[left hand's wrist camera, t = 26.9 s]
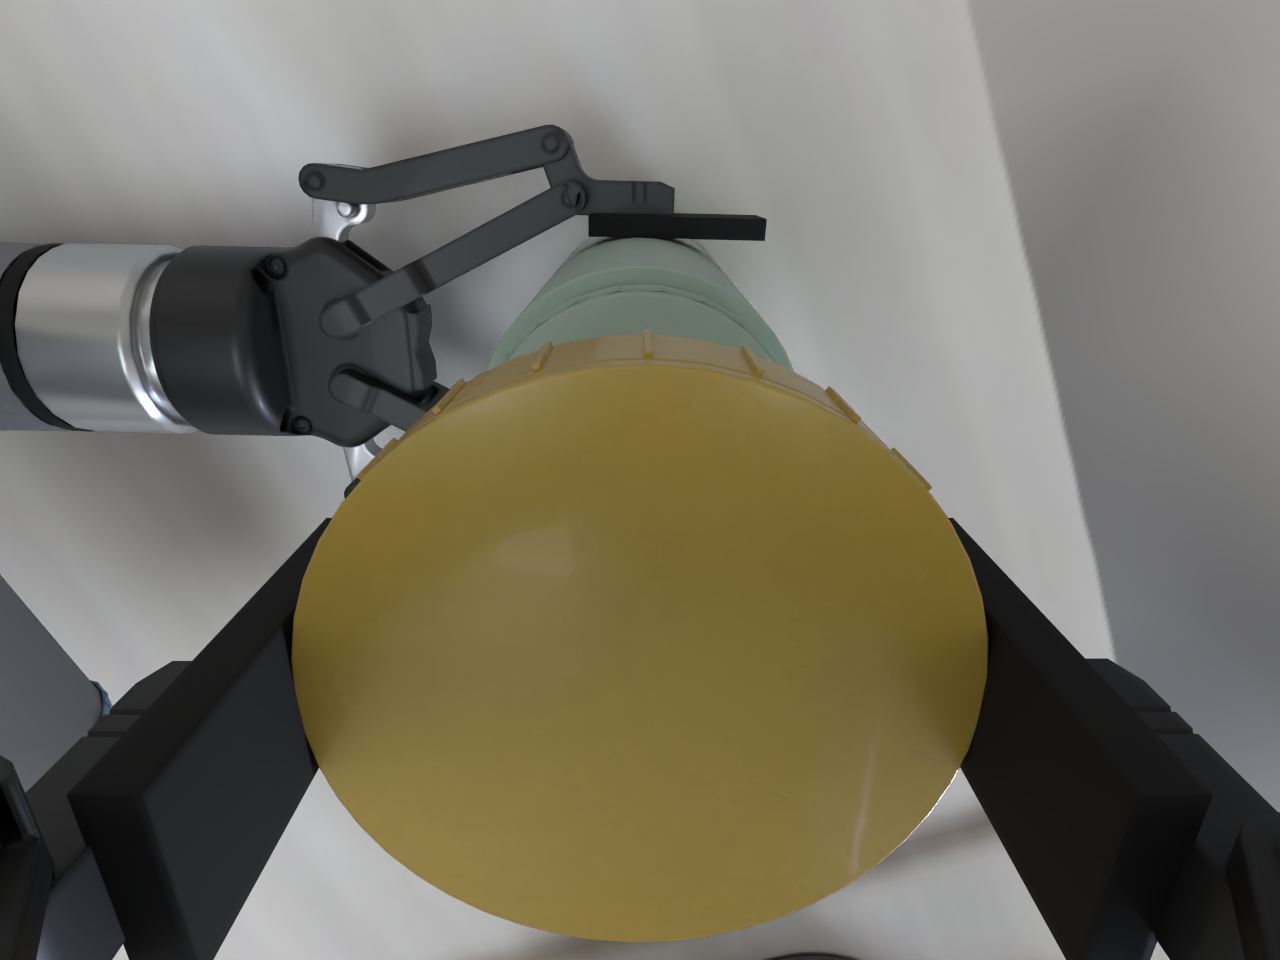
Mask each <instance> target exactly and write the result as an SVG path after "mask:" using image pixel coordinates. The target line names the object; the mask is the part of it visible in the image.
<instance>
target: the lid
mask: <svg viewBox="0 0 1280 960" xmlns="http://www.w3.org/2000/svg"><path fill="white" fill-rule="evenodd" d="M357 478H358V479H360V480H361V481H360V482H359V483H358V485H357V486H356V487H355V488H354V489H353V490H352V492H351V493H350V494H349V495H348V496H347V497H346V499H345V500H344V501H343V502H342V503H341V505H340V506H339V508H338V510H337V511H336V513H335V515H334V516H333V518H332V519H331V521H330V523H329V524H328V526H327V528H326V529H325V531H324V532H323V534H322V536H321V537H320V539H319V541H318V543H317V545H316V548H315V550H314V553H313V555H312V558H311V560H310V562H309V565H308V567H307V570H306V572H305V574H304V577H303V580H302V584H301V588H300V593H299V597H298V601H297V606H296V610H295V614H294V621H293V636H292V651H291V661H292V672H293V682H294V687H295V692H296V697H297V702H298V706H299V711H300V715H301V720H302V724H303V729H304V733H305V735H306V737H307V740H308V742H309V745H310V747H311V749H312V752H313V754H314V756H315V759H316V761H317V764H318V766H319V767H320V769H321V771H322V773H323V774H324V776H325V778H326V779H327V781H328V783H329V784H330V786H331V788H332V789H333V791H334V793H335V794H336V796H337V797H338V799H339V800H340V801H341V803H342V804H343V805H344V806H345V808H346V809H347V810H348V811H349V813H350V814H351V815H352V816H353V818H354V819H355V820H356V821H357V823H358V824H359V825H360V826H361V827H362V828H363V829H364V830H365V831H366V832H367V833H368V834H369V835H370V836H371V837H372V838H373V839H374V840H375V841H376V842H377V843H378V844H379V845H380V846H381V847H382V848H383V849H384V850H385V851H386V852H387V853H389V854H390V855H391V856H392V857H394V858H395V859H396V860H398V861H399V862H400V863H401V864H403V865H404V866H405V867H407V868H408V869H409V870H410V871H412V872H413V873H414V874H416V875H417V876H419V877H420V878H422V879H424V880H425V881H427V882H428V883H430V884H432V885H433V886H435V887H437V888H438V889H440V890H441V891H443V892H445V893H446V894H448V895H450V896H452V897H454V898H456V899H458V900H461V901H463V902H465V903H467V904H469V905H471V906H473V907H475V908H477V909H479V910H481V911H484V912H487V913H489V914H492V915H495V916H498V917H500V918H503V919H506V920H509V921H512V922H514V923H517V924H521V925H525V926H528V927H532V928H536V929H540V930H544V931H548V932H552V933H556V934H563V935H569V936H575V937H581V938H587V939H596V940H610V941H625V942H645V941H673V940H681V939H690V938H699V937H707V936H712V935H717V934H721V933H726V932H731V931H736V930H741V929H745V928H748V927H751V926H755V925H758V924H761V923H764V922H767V921H771V920H774V919H777V918H780V917H783V916H785V915H787V914H790V913H792V912H795V911H797V910H799V909H802V908H804V907H807V906H809V905H811V904H814V903H816V902H818V901H819V900H821V899H823V898H825V897H827V896H829V895H831V894H832V893H834V892H836V891H838V890H840V889H842V888H843V887H845V886H847V885H849V884H850V883H852V882H853V881H854V880H856V879H857V878H859V877H860V876H862V875H863V874H865V873H866V872H867V871H869V870H870V869H872V868H873V867H875V866H876V865H878V864H879V863H880V862H881V861H882V860H884V859H885V858H886V857H887V856H888V855H889V854H890V853H892V852H893V851H894V850H895V849H896V848H897V847H898V846H900V845H901V844H902V843H903V842H904V841H905V840H906V839H907V838H908V837H909V836H910V835H911V834H912V833H913V832H914V831H915V830H916V828H917V827H918V826H919V825H920V824H921V823H922V822H923V821H924V820H925V818H926V817H927V816H928V815H929V814H930V813H931V812H932V810H933V809H934V807H935V806H936V805H937V803H938V802H939V800H940V799H941V797H942V796H943V794H944V793H945V792H946V790H947V789H948V787H949V786H950V784H951V783H952V781H953V780H954V778H955V776H956V774H957V772H958V770H959V768H960V766H961V764H962V762H963V760H964V758H965V756H966V754H967V752H968V750H969V748H970V745H971V742H972V739H973V736H974V733H975V730H976V726H977V721H978V717H979V713H980V708H981V703H982V699H983V694H984V689H985V684H986V679H987V674H988V633H987V626H986V619H985V612H984V606H983V599H982V595H981V592H980V589H979V586H978V583H977V580H976V577H975V573H974V570H973V567H972V564H971V561H970V558H969V556H968V554H967V553H966V551H965V549H964V547H963V545H962V543H961V541H960V539H959V537H958V535H957V533H956V531H955V529H954V527H953V525H952V523H951V521H950V520H949V519H948V517H947V516H946V514H945V513H944V512H943V510H942V509H941V508H940V506H939V505H938V504H937V502H936V501H935V499H934V498H933V497H932V495H931V494H930V493H929V490H930V489H932V487H931V486H930V484H929V483H928V482H927V481H926V480H925V479H924V478H923V477H922V476H921V475H920V474H919V473H918V472H917V471H916V470H915V469H914V468H913V467H912V465H911V464H910V463H909V462H908V461H907V460H906V459H905V458H904V457H903V456H902V455H901V454H900V453H899V452H898V451H897V450H896V449H895V448H892V449H891V450H890V449H889V448H888V447H887V446H886V445H885V444H884V443H883V441H882V440H881V439H880V438H879V437H878V436H877V435H876V434H875V433H874V432H873V431H872V430H871V429H870V428H869V427H868V426H867V425H866V424H865V423H864V422H863V421H862V420H861V417H860V416H859V415H858V414H857V413H856V412H855V411H854V410H853V409H852V408H851V407H850V406H849V405H848V404H847V403H846V402H845V400H844V399H843V398H842V397H841V396H840V395H839V394H838V393H837V392H836V391H835V390H834V389H833V388H831V387H830V386H829V387H828V388H827V389H826V391H825V390H824V389H823V388H821V387H820V386H819V385H817V384H815V383H813V382H811V381H809V380H808V379H806V378H804V377H802V376H800V375H799V374H797V373H795V372H793V371H791V370H789V369H788V368H786V367H784V366H782V365H780V364H777V363H775V362H772V361H770V360H767V359H764V358H762V357H759V356H757V355H754V353H753V352H752V350H751V349H750V347H749V346H746V345H742V347H741V349H737V348H733V347H729V346H724V345H720V344H716V343H712V342H707V341H703V340H699V339H692V338H682V337H672V336H662V335H652V334H651V329H644V334H643V335H619V336H603V337H597V338H591V339H584V340H578V341H572V342H566V343H561V344H558V345H554V346H553V344H552V341H548V342H545V343H544V344H543V346H542V348H541V349H540V350H538V351H535V352H532V353H528V354H525V355H522V356H519V357H517V358H514V359H512V360H510V361H508V362H506V363H504V364H501V365H499V366H497V367H495V368H493V369H491V370H488V371H486V372H484V373H482V374H480V375H478V376H477V377H475V378H474V379H472V380H470V381H469V382H467V383H465V381H464V380H463V379H461V380H459V381H458V382H456V384H455V385H454V386H453V387H452V388H451V389H450V390H449V391H448V392H447V393H446V394H445V395H444V396H443V398H442V399H441V400H440V401H439V402H438V403H437V404H436V405H435V406H434V407H433V408H431V409H430V410H429V411H428V412H427V413H426V414H424V415H423V416H422V417H421V418H420V419H419V420H418V421H416V422H415V423H414V424H413V425H412V426H411V427H410V428H409V429H408V430H407V431H406V432H405V434H404V435H403V436H402V437H401V438H400V439H399V440H396V439H395V438H393V439H392V440H391V441H390V442H389V443H388V444H387V445H386V446H385V447H384V448H383V449H382V450H381V451H380V452H379V453H378V454H377V455H376V456H375V457H374V458H373V459H372V460H371V461H370V462H369V463H368V464H367V465H366V466H365V467H364V468H363V470H362V471H361V472H360V473H359V474H358V475H357Z"/></svg>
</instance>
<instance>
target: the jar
mask: <svg viewBox="0 0 1280 960" xmlns="http://www.w3.org/2000/svg"><path fill="white" fill-rule="evenodd" d="M644 329H651V334H652V335H662V336H672V337H682V338H692V339H699V340H703V341H707V342H712V343H716V344H720V345H724V346H729V347H733V348H737V349H741V347H742V345H746V346H749V347H750V349H751V350H752V352H753V353H754V355H757V356H759V357H762V358H764V359H767V360H770V361H772V362H775V363H777V364H780V365H782V366H784V367H786V368H788V369H789V370H791V371H793V372H794V370H793V368H792V365H791V363H790V361H789V358H788V356H787V354H786V352H785V350H784V348H783V347H782V345H781V343H780V342H779V340H778V338H777V337H776V335H775V334H774V332H773V331H772V330H771V329H770V327H769V326H768V325H767V324H766V323H765V321H764V320H763V319H762V318H761V316H760V315H759V314H758V313H757V312H756V311H755V309H754V308H753V307H752V306H751V305H750V303H749V302H748V301H747V300H746V299H745V297H744V296H743V295H742V294H741V293H740V291H739V290H738V289H737V288H736V287H735V285H734V284H733V283H732V282H731V281H730V279H729V278H728V277H727V276H726V275H725V274H724V272H723V271H722V270H721V269H720V268H719V266H718V265H717V264H716V263H715V262H714V260H713V259H712V258H711V257H710V256H709V254H708V253H707V252H705V251H704V250H703V249H702V248H701V247H700V246H699V245H698V244H696V243H695V242H693V241H692V240H690V239H671V238H630V237H593V238H591V239H589V240H588V241H586V242H585V243H584V244H582V245H581V246H580V247H579V248H577V249H576V250H575V251H574V252H573V253H572V254H571V255H570V256H569V258H568V259H567V260H566V261H565V262H564V263H563V265H562V266H561V267H560V268H559V269H558V271H557V272H556V273H555V274H554V275H553V276H552V278H551V279H550V280H549V281H548V282H547V284H546V285H545V286H544V287H543V288H542V290H541V291H540V292H539V293H538V294H537V295H536V297H535V298H534V299H533V300H532V301H531V303H530V304H529V305H528V306H527V307H526V308H525V310H524V311H523V312H522V313H521V314H520V316H519V317H518V318H517V319H516V320H515V322H514V323H513V324H512V326H511V327H510V328H509V329H508V331H507V332H506V333H505V334H504V336H503V337H502V339H501V341H500V342H499V344H498V346H497V348H496V349H495V351H494V353H493V354H492V357H491V359H490V362H489V364H488V367H487V369H486V371H488V370H491V369H493V368H495V367H497V366H499V365H501V364H504V363H506V362H508V361H510V360H512V359H514V358H517V357H519V356H522V355H525V354H528V353H532V352H535V351H538V350H540V349H541V348H542V346H543V344H544V343H545V342H548V341H552V344H553V346H554V345H558V344H561V343H566V342H572V341H578V340H584V339H591V338H597V337H603V336H619V335H643V334H644Z"/></svg>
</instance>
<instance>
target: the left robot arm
mask: <svg viewBox="0 0 1280 960" xmlns="http://www.w3.org/2000/svg"><path fill="white" fill-rule="evenodd" d="M331 519H332V518H326V519H325V520H324V521H323V522H322V524H321V525H320V526H319V527H318V528H317V529H316V530H315V531H314V532H313V533H312V534H311V535H310V536H309V537H308V538H307V539H306V541H305V542H304V543H303V544H302V545H301V546H300V547H299V548H298V549H297V550H296V551H295V552H294V553H293V554H292V555H291V557H290V558H289V559H288V560H287V561H286V562H285V563H284V564H283V565H282V566H281V567H280V568H279V569H278V570H277V571H276V572H275V574H274V575H273V576H272V577H271V578H270V579H269V580H268V581H267V582H266V583H265V584H264V585H263V586H262V587H261V588H260V589H259V591H258V592H257V593H256V594H255V595H254V596H253V597H252V598H251V599H250V600H249V601H248V602H247V603H246V604H245V605H244V607H243V608H242V609H241V610H240V611H239V612H238V613H237V614H236V615H235V616H234V617H233V618H232V619H231V620H230V621H229V622H228V624H227V625H226V626H225V627H224V628H223V629H222V630H221V631H220V632H219V633H218V634H217V635H216V636H215V637H214V638H213V640H212V641H211V642H210V643H209V644H208V645H207V646H206V647H205V648H204V649H203V650H202V651H201V652H200V653H199V654H198V655H197V657H196V658H195V659H194V660H193V661H172V662H170V663H169V664H167V665H165V666H164V667H162V668H160V669H159V670H157V671H156V672H154V673H152V674H151V675H149V676H147V677H146V678H144V679H142V680H141V681H139V682H137V683H136V684H135V685H134V686H133V687H132V688H131V689H130V690H129V691H128V692H127V693H126V694H125V695H124V696H123V697H122V698H121V699H120V700H119V701H118V702H117V703H116V704H115V705H114V706H113V707H112V708H111V709H110V713H109V715H104V716H103V717H102V718H101V719H100V720H99V721H98V722H97V723H96V724H94V725H93V726H92V727H91V728H90V729H89V730H88V735H87V737H81V738H80V739H79V740H78V741H77V742H76V743H75V744H74V745H73V746H72V747H71V748H70V749H69V750H68V751H67V752H66V753H65V754H64V755H63V756H62V757H61V758H60V759H59V760H58V761H57V762H56V763H55V764H54V765H53V766H52V767H51V768H50V769H49V770H48V771H47V772H46V773H45V774H44V775H43V776H42V777H41V778H40V779H39V780H38V781H37V782H36V783H35V784H34V785H33V786H32V787H31V788H30V789H29V790H28V791H27V792H26V793H25V792H24V789H23V787H22V784H21V782H20V779H19V777H18V775H17V772H16V770H15V767H14V765H13V763H12V762H11V761H9V760H8V759H6V758H4V757H3V756H1V755H0V960H112V959H113V958H114V956H115V955H116V953H117V952H118V950H119V949H120V947H121V946H122V944H123V945H124V947H125V950H126V952H127V955H128V958H129V960H213V959H214V958H215V956H216V954H217V952H218V950H219V948H220V947H221V945H222V943H223V941H224V939H225V938H226V936H227V934H228V932H229V930H230V928H231V927H232V925H233V923H234V921H235V919H236V918H237V916H238V914H239V912H240V910H241V908H242V907H243V905H244V903H245V901H246V899H247V898H248V896H249V894H250V892H251V890H252V888H253V887H254V885H255V883H256V881H257V879H258V878H259V876H260V874H261V872H262V870H263V868H264V867H265V865H266V863H267V861H268V859H269V858H270V856H271V854H272V852H273V850H274V848H275V847H276V845H277V843H278V841H279V839H280V838H281V836H282V834H283V832H284V830H285V828H286V827H287V825H288V823H289V821H290V819H291V818H292V816H293V814H294V812H295V810H296V808H297V807H298V805H299V803H300V801H301V799H302V798H303V796H304V794H305V792H306V790H307V788H308V787H309V785H310V783H311V781H312V779H313V778H314V776H315V774H316V772H317V770H318V769H319V766H318V764H317V761H316V759H315V756H314V754H313V752H312V749H311V747H310V745H309V742H308V740H307V737H306V735H305V733H304V729H303V724H302V720H301V715H300V711H299V706H298V702H297V697H296V692H295V687H294V682H293V672H292V661H291V651H292V636H293V621H294V614H295V610H296V606H297V601H298V597H299V593H300V588H301V584H302V580H303V577H304V574H305V572H306V570H307V567H308V565H309V562H310V560H311V558H312V555H313V553H314V550H315V548H316V545H317V543H318V541H319V539H320V537H321V536H322V534H323V532H324V531H325V529H326V528H327V526H328V524H329V523H330V521H331ZM948 519H949V520H950V521H951V523H952V525H953V527H954V529H955V531H956V533H957V535H958V537H959V539H960V541H961V543H962V545H963V547H964V549H965V551H966V553H967V554H968V556H969V558H970V561H971V564H972V567H973V570H974V573H975V577H976V580H977V583H978V586H979V589H980V592H981V595H982V599H983V606H984V612H985V619H986V626H987V633H988V674H987V679H986V684H985V689H984V694H983V699H982V703H981V708H980V713H979V717H978V721H977V726H976V730H975V733H974V736H973V739H972V742H971V745H970V748H969V750H968V752H967V754H966V756H965V758H964V760H963V762H962V764H961V766H960V768H961V769H962V771H963V773H964V775H965V777H966V778H967V780H968V782H969V784H970V786H971V787H972V789H973V791H974V793H975V795H976V797H977V798H978V800H979V802H980V804H981V806H982V807H983V809H984V811H985V813H986V815H987V817H988V818H989V820H990V822H991V824H992V826H993V827H994V829H995V831H996V833H997V835H998V837H999V838H1000V840H1001V842H1002V844H1003V846H1004V847H1005V849H1006V851H1007V853H1008V855H1009V857H1010V858H1011V860H1012V862H1013V864H1014V866H1015V867H1016V869H1017V871H1018V873H1019V875H1020V877H1021V878H1022V880H1023V882H1024V884H1025V886H1026V887H1027V889H1028V891H1029V893H1030V895H1031V897H1032V898H1033V900H1034V902H1035V904H1036V906H1037V907H1038V909H1039V911H1040V913H1041V915H1042V917H1043V918H1044V920H1045V922H1046V924H1047V926H1048V927H1049V929H1050V931H1051V933H1052V935H1053V937H1054V938H1055V940H1056V942H1057V944H1058V946H1059V947H1060V949H1061V951H1062V953H1063V955H1064V957H1065V958H1066V960H1150V959H1151V956H1152V953H1153V951H1154V948H1155V946H1156V943H1157V941H1158V943H1159V944H1160V946H1161V947H1162V948H1163V950H1164V951H1165V953H1166V954H1167V956H1168V957H1169V959H1170V960H1280V813H1279V812H1277V811H1276V810H1275V809H1274V808H1273V807H1272V806H1271V805H1270V804H1269V803H1268V802H1267V801H1266V800H1265V799H1264V798H1263V797H1262V796H1261V795H1260V794H1259V793H1258V792H1257V791H1256V790H1255V789H1254V788H1253V787H1252V786H1250V784H1249V783H1247V782H1246V781H1245V780H1244V779H1243V778H1242V777H1241V776H1240V775H1239V774H1238V773H1237V772H1236V771H1235V770H1234V769H1233V768H1232V767H1231V766H1230V765H1229V764H1228V763H1227V762H1226V761H1225V760H1224V759H1223V758H1222V757H1221V756H1220V755H1219V754H1218V753H1217V752H1216V751H1215V750H1214V749H1213V748H1212V747H1211V746H1210V745H1209V744H1208V743H1207V742H1206V741H1205V740H1204V739H1203V738H1202V737H1201V736H1200V735H1198V734H1193V731H1192V727H1191V726H1190V725H1189V724H1187V723H1186V722H1185V721H1184V720H1183V719H1182V718H1181V717H1180V716H1179V715H1178V714H1177V713H1176V712H1171V709H1170V706H1169V705H1168V704H1167V703H1166V702H1165V701H1164V700H1163V699H1162V698H1161V697H1160V696H1159V695H1158V694H1157V693H1156V692H1155V691H1154V690H1153V689H1152V688H1151V687H1150V686H1149V685H1148V684H1147V683H1146V682H1145V681H1143V680H1142V679H1140V678H1139V677H1137V676H1135V675H1134V674H1132V673H1130V672H1129V671H1127V670H1125V669H1124V668H1122V667H1120V666H1119V665H1117V664H1115V663H1114V662H1112V661H1110V660H1109V659H1085V658H1084V657H1083V656H1082V655H1081V654H1080V653H1079V652H1078V651H1077V650H1076V649H1075V647H1074V646H1073V645H1072V644H1071V643H1070V642H1069V641H1068V640H1067V639H1066V638H1065V637H1064V636H1063V635H1062V634H1061V633H1060V632H1059V630H1058V629H1057V628H1056V627H1055V626H1054V625H1053V624H1052V623H1051V622H1050V621H1049V620H1048V619H1047V618H1046V617H1045V616H1044V614H1043V613H1042V612H1041V611H1040V610H1039V609H1038V608H1037V607H1036V606H1035V605H1034V604H1033V603H1032V602H1031V601H1030V600H1029V599H1028V597H1027V596H1026V595H1025V594H1024V593H1023V592H1022V591H1021V590H1020V589H1019V588H1018V587H1017V586H1016V585H1015V584H1014V583H1013V582H1012V580H1011V579H1010V578H1009V577H1008V576H1007V575H1006V574H1005V573H1004V572H1003V571H1002V570H1001V569H1000V568H999V567H998V566H997V564H996V563H995V562H994V561H993V560H992V559H991V558H990V557H989V556H988V555H987V554H986V553H985V552H984V551H983V550H982V549H981V547H980V546H979V545H978V544H977V543H976V542H975V541H974V540H973V539H972V538H971V537H970V536H969V535H968V534H967V533H966V531H965V530H964V529H963V528H962V527H961V526H960V525H959V524H958V523H957V522H956V521H955V520H954V519H953V518H948ZM779 960H847V959H842V958H837V957H829V956H797V957H790V958H784V959H779Z"/></svg>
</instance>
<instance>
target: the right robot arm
mask: <svg viewBox="0 0 1280 960" xmlns="http://www.w3.org/2000/svg"><path fill="white" fill-rule="evenodd" d="M540 167H544V170H545V173H546V176H547V179H548V181H549V184H550V187H551V188H550V189H548V190H546V191H545V192H543V193H541V194H539V195H537V196H535V197H533V198H532V199H530V200H528V201H526V202H524V203H522V204H520V205H519V206H517V207H515V208H513V209H511V210H509V211H507V212H506V213H504V214H502V215H500V216H498V217H496V218H494V219H493V220H491V221H489V222H487V223H485V224H483V225H481V226H480V227H478V228H476V229H474V230H472V231H470V232H468V233H467V234H465V235H463V236H461V237H459V238H457V239H455V240H454V241H452V242H450V243H448V244H446V245H444V246H442V247H441V248H439V249H437V250H435V251H433V252H431V253H429V254H428V255H426V256H424V257H422V258H420V259H418V260H416V261H414V262H412V263H410V264H408V265H406V266H404V267H402V268H401V269H399V270H397V271H395V272H394V271H392V270H391V269H389V268H388V267H386V266H385V265H384V264H382V263H381V262H379V261H378V260H377V259H375V258H374V257H372V256H371V255H370V254H368V253H367V252H365V251H364V250H363V249H361V248H360V247H358V246H357V245H356V244H354V243H353V242H351V241H350V240H348V234H349V231H350V229H351V228H352V227H353V226H354V225H356V224H361V223H366V222H368V221H370V220H371V219H372V218H373V217H374V214H375V209H376V204H379V203H387V202H396V201H401V200H407V199H411V198H415V197H419V196H423V195H428V194H432V193H436V192H440V191H444V190H449V189H453V188H457V187H461V186H465V185H469V184H474V183H478V182H482V181H486V180H490V179H494V178H499V177H503V176H507V175H511V174H515V173H519V172H524V171H528V170H532V169H536V168H540ZM299 183H300V187H301V188H302V190H303V191H304V193H306V194H307V195H308V196H309V197H312V211H313V238H312V239H309V240H307V241H306V242H304V243H303V244H301V245H299V246H297V247H294V248H275V247H234V246H193V247H189V248H186V249H185V250H184V249H181V248H178V247H176V246H173V245H150V244H97V243H65V244H25V243H0V431H2V430H56V431H108V432H139V433H169V434H192V433H194V432H197V431H199V430H200V431H202V432H205V433H208V434H223V435H269V436H300V435H312V436H317V437H321V438H323V439H326V440H328V441H330V442H332V443H334V444H336V445H338V446H341V447H343V449H344V453H345V456H346V460H347V464H348V468H349V472H350V476H351V479H352V482H351V483H350V485H349V486H348V487H347V488H346V490H345V492H344V497H345V499H346V497H347V496H348V495H349V494H350V493H351V492H352V490H353V489H354V488H355V487H356V486H357V485H358V483H359V482H360V481H361V480H360V479H358V478H357V475H358V474H359V473H360V472H361V471H362V470H363V468H364V467H365V466H366V465H367V464H368V463H369V462H370V461H371V460H372V459H373V458H374V457H375V456H376V455H377V454H378V453H379V452H380V451H381V450H382V448H380V447H379V446H377V445H376V443H375V442H374V440H373V437H375V436H376V435H377V434H379V433H380V432H382V431H383V430H384V429H386V428H387V427H389V426H390V425H393V426H396V427H398V428H400V429H402V430H404V431H407V430H408V429H409V428H410V427H411V426H412V425H413V424H414V423H415V422H416V421H418V420H419V419H420V418H421V417H422V416H423V415H424V414H426V413H427V412H428V411H429V410H430V409H431V408H433V407H434V406H435V405H436V404H437V403H438V402H439V401H440V400H441V399H442V398H443V396H444V395H445V394H446V393H447V392H448V391H449V390H450V389H448V388H446V387H444V386H442V385H440V384H438V383H436V382H434V380H435V379H436V378H437V374H436V363H435V358H434V355H433V353H432V350H431V347H430V344H429V337H430V332H431V326H432V317H431V305H426V303H425V300H424V299H423V297H422V296H423V295H425V294H427V293H429V292H431V291H433V290H434V289H436V288H438V287H440V286H442V285H444V284H446V283H448V282H450V281H451V280H453V279H455V278H457V277H459V276H461V275H463V274H465V273H467V272H468V271H470V270H472V269H474V268H476V267H478V266H480V265H482V264H484V263H485V262H487V261H489V260H491V259H493V258H495V257H497V256H499V255H501V254H503V253H504V252H506V251H508V250H510V249H512V248H514V247H516V246H518V245H520V244H521V243H523V242H525V241H527V240H529V239H531V238H533V237H535V236H537V235H539V234H540V233H542V232H544V231H546V230H548V229H550V228H552V227H554V226H556V225H557V224H559V223H561V222H563V221H565V220H567V219H569V218H571V217H573V216H575V215H589V237H630V238H671V239H713V240H755V241H765V232H766V220H767V219H765V218H762V217H759V216H756V215H725V214H683V213H674V189H675V188H673V187H670V186H668V185H666V184H664V183H662V182H649V181H609V180H595V179H593V178H590V177H589V176H588V175H586V174H585V172H584V171H583V170H582V168H581V166H580V163H579V160H578V157H577V154H576V151H575V148H574V145H573V140H572V138H571V136H570V135H569V134H568V133H567V132H566V131H565V130H563V129H561V128H560V127H557V126H555V125H544V126H540V127H536V128H532V129H528V130H524V131H520V132H516V133H512V134H508V135H504V136H499V137H495V138H491V139H487V140H483V141H479V142H475V143H471V144H467V145H463V146H459V147H454V148H450V149H446V150H442V151H438V152H434V153H430V154H426V155H422V156H418V157H414V158H410V159H405V160H401V161H397V162H393V163H389V164H385V165H381V166H377V167H373V168H364V167H357V166H350V165H343V164H321V163H312V164H307V165H305V166H304V167H303V168H302V169H301V171H300V172H299ZM112 707H113V705H112V704H111V702H110V700H109V697H108V693H107V692H106V691H104V690H103V688H102V687H101V686H100V684H99V683H98V682H94V681H90V680H89V679H88V678H87V677H86V676H85V674H84V673H83V672H82V671H81V670H80V668H79V667H78V666H77V665H76V664H75V663H74V661H73V660H72V659H71V658H70V657H69V655H68V654H67V653H66V652H65V651H64V650H63V648H62V647H61V646H60V645H59V644H58V642H57V641H56V640H55V639H54V638H53V637H52V635H51V634H50V633H49V632H48V631H47V629H46V628H45V627H44V626H43V625H42V624H41V622H40V621H39V620H38V619H37V618H36V616H35V615H34V614H33V613H32V612H31V611H30V609H29V608H28V607H27V606H26V605H25V603H24V602H23V601H22V600H21V599H20V598H19V596H18V595H17V594H16V593H15V592H14V590H13V589H12V588H11V587H10V586H9V585H8V583H7V582H6V581H5V580H4V579H3V577H2V576H1V575H0V755H1V756H3V757H4V758H6V759H8V760H9V761H11V762H12V763H13V765H14V767H15V770H16V772H17V775H18V777H19V779H20V782H21V784H22V787H23V789H24V792H25V793H26V792H27V791H28V790H29V789H30V788H31V787H32V786H33V785H34V784H35V783H36V782H37V781H38V780H39V779H40V778H41V777H42V776H43V775H44V774H45V773H46V772H47V771H48V770H49V769H50V768H51V767H52V766H53V765H54V764H55V763H56V762H57V761H58V760H59V759H60V758H61V757H62V756H63V755H64V754H65V753H66V752H67V751H68V750H69V749H70V748H71V747H72V746H73V745H74V744H75V743H76V742H77V741H78V740H79V739H80V738H81V737H87V735H88V730H89V729H90V728H91V727H92V726H93V725H94V724H96V723H97V722H98V721H99V720H100V719H101V718H102V717H103V716H104V715H109V713H110V709H111V708H112Z"/></svg>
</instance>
